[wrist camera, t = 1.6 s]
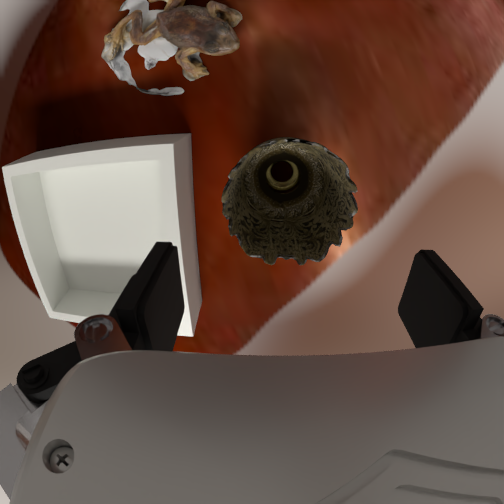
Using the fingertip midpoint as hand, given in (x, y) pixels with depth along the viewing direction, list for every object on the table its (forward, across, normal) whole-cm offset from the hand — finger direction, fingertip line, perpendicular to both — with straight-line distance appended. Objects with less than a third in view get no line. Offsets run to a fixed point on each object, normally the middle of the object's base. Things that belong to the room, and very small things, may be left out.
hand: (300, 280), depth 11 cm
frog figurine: (+14, +8, -13) cm, 21 cm away
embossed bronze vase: (+14, 0, -1) cm, 14 cm away
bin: (+14, +15, +4) cm, 21 cm away
